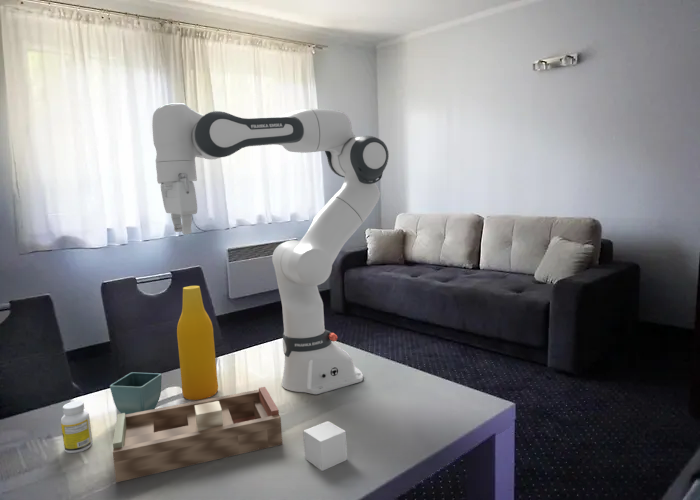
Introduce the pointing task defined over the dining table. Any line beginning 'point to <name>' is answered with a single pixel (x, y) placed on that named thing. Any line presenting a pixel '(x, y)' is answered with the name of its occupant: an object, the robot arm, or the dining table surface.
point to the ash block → (208, 415)
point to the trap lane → (193, 434)
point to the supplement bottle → (76, 427)
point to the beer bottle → (196, 348)
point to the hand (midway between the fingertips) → (182, 232)
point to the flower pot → (137, 392)
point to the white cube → (325, 445)
